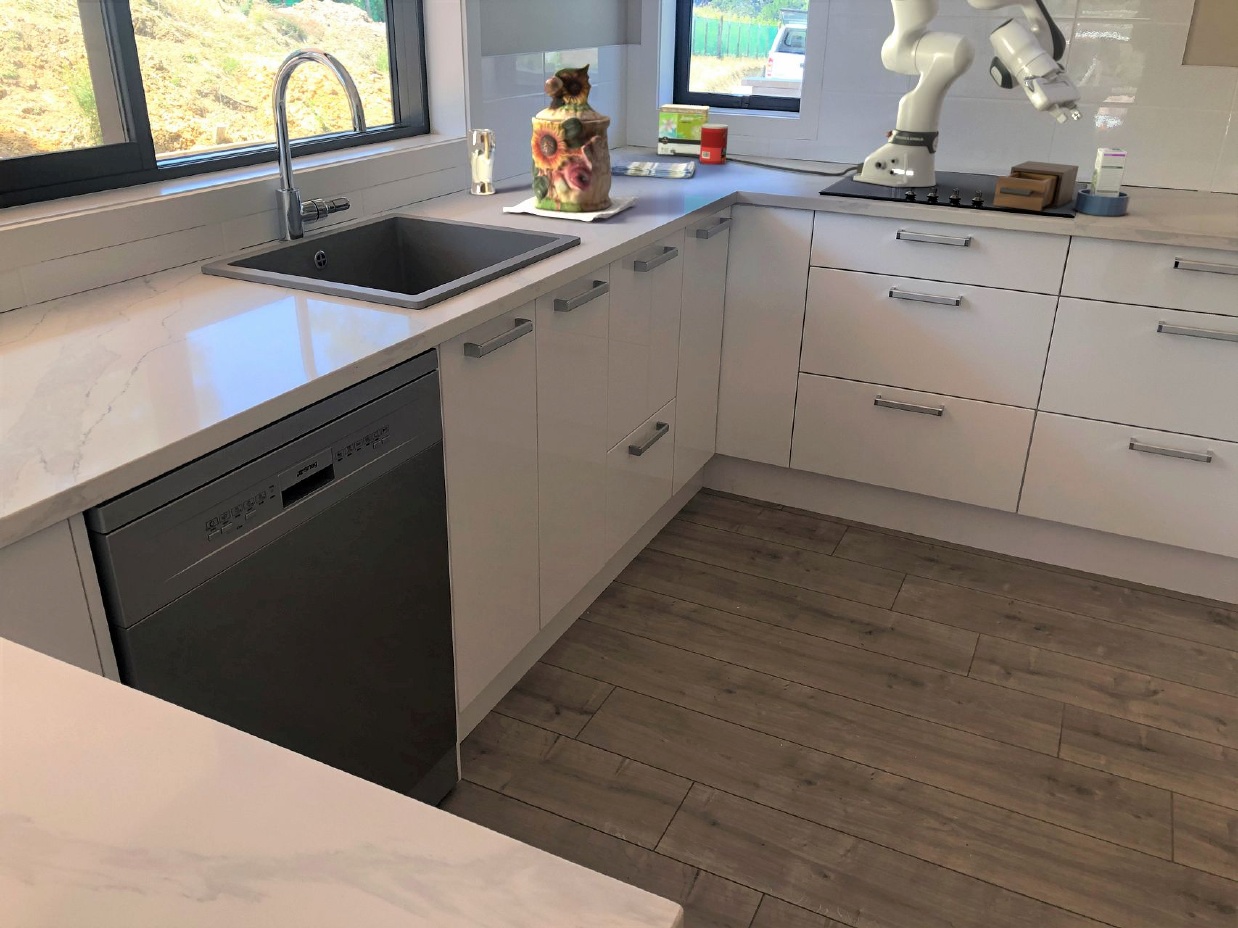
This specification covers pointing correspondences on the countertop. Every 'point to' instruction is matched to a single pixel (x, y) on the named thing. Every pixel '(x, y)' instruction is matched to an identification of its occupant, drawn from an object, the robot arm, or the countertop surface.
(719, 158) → the canned food
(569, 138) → the cookie jar
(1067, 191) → the cabinet
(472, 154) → the beer glass
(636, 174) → the dish towel
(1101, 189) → the syrup box
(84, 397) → the countertop surface
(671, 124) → the tea box
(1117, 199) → the bowl
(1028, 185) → the drawer
